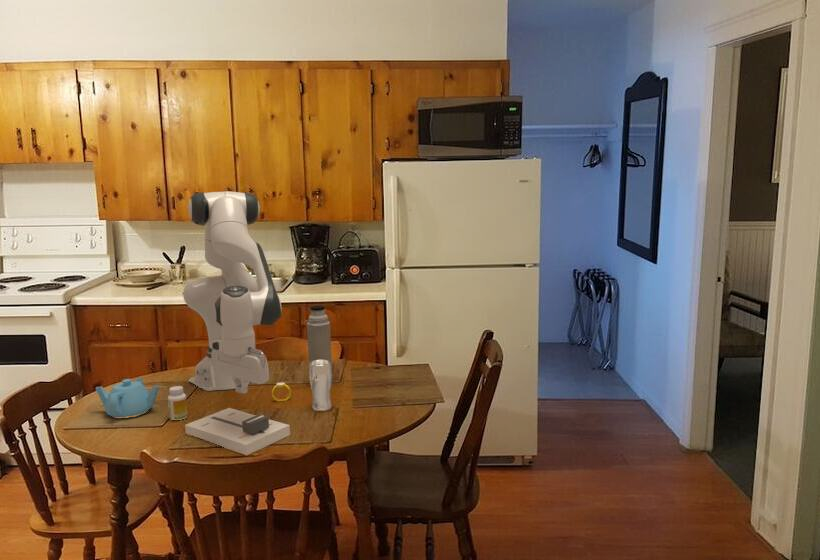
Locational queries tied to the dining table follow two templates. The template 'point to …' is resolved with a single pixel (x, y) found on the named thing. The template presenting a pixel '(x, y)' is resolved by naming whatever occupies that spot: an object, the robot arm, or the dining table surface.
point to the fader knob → (255, 424)
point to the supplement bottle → (177, 403)
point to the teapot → (128, 398)
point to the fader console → (236, 431)
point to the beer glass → (320, 384)
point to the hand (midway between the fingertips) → (241, 392)
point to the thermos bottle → (319, 335)
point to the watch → (281, 386)
